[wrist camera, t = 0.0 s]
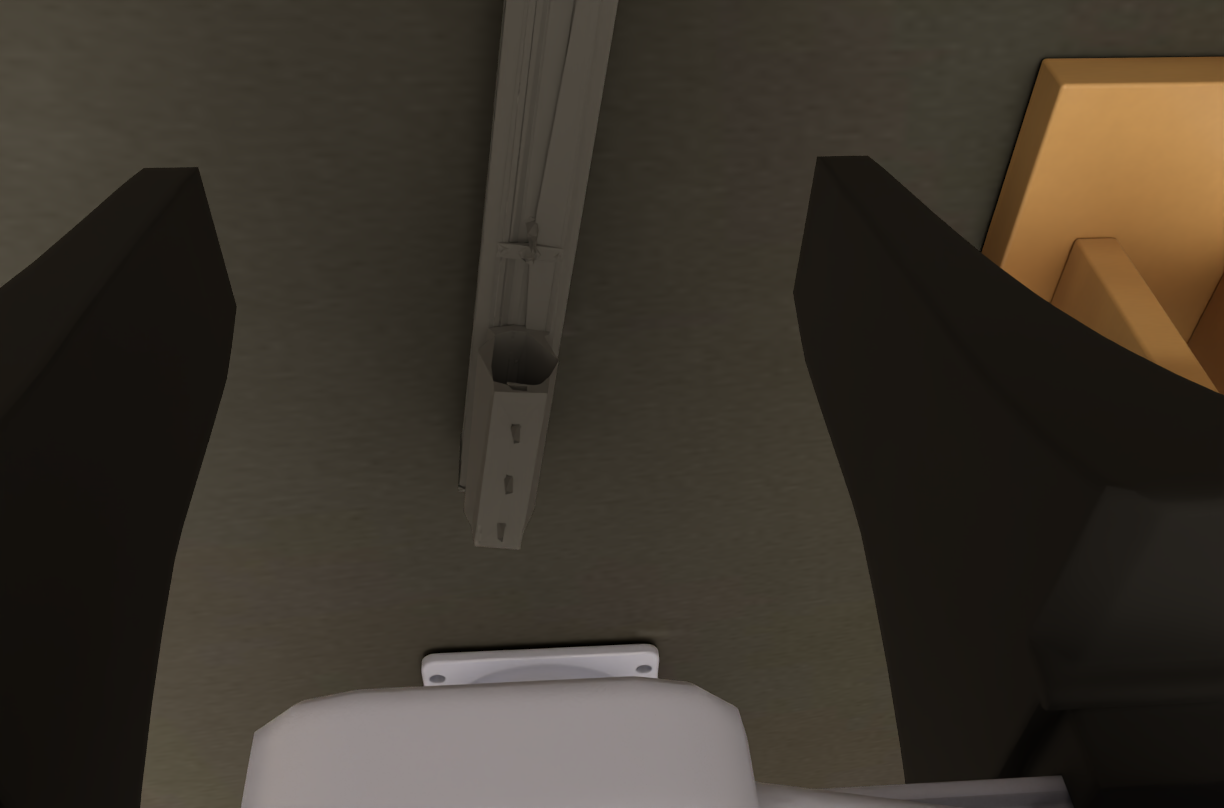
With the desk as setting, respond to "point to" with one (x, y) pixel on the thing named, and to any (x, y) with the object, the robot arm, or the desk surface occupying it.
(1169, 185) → the switch bracket
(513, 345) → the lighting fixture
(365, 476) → the desk surface
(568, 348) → the desk surface
